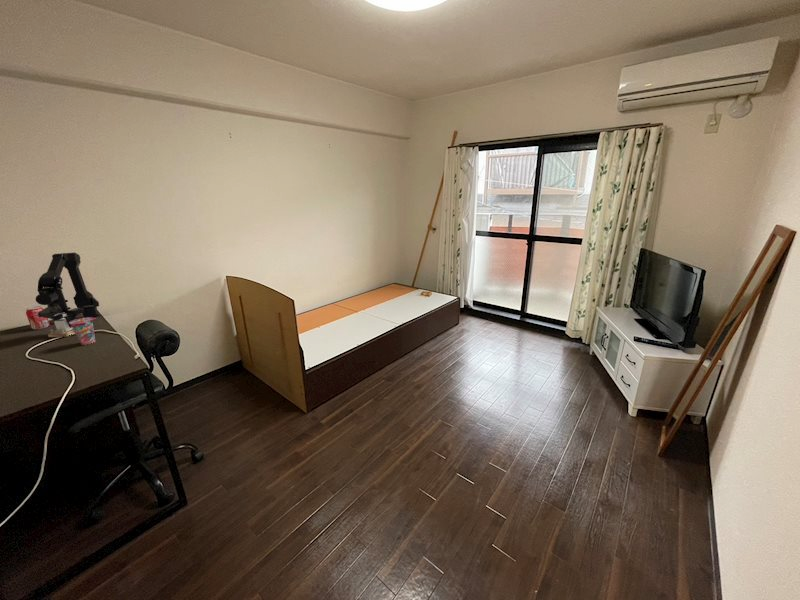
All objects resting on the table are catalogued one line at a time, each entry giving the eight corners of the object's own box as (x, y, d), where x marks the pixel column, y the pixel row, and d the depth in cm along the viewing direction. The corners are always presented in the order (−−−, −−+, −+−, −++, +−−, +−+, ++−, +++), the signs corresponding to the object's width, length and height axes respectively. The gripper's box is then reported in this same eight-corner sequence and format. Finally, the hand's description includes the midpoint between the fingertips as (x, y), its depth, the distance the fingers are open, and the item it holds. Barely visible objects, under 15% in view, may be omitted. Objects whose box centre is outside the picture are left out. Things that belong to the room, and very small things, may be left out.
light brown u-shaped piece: (66, 330, 175) (63, 323, 174) (83, 329, 176) (81, 323, 174) (48, 337, 166) (45, 330, 165) (67, 336, 167) (64, 329, 165)
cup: (78, 348, 153) (70, 324, 149) (75, 343, 158) (67, 321, 154) (104, 341, 160) (96, 318, 156) (99, 337, 165) (92, 315, 161)
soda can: (36, 327, 181) (28, 306, 178) (53, 324, 184) (45, 305, 181) (29, 331, 175) (21, 310, 172) (46, 328, 178) (38, 308, 175)
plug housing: (68, 327, 174) (64, 316, 173) (76, 327, 175) (73, 316, 173) (57, 331, 169) (53, 320, 167) (66, 331, 169) (62, 320, 167)
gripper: (21, 305, 159) (32, 334, 163) (59, 303, 159) (70, 332, 164) (44, 298, 169) (54, 325, 174) (80, 297, 170) (89, 324, 174)
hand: (66, 327), depth 171 cm, fingers closed on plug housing, 4 cm apart
